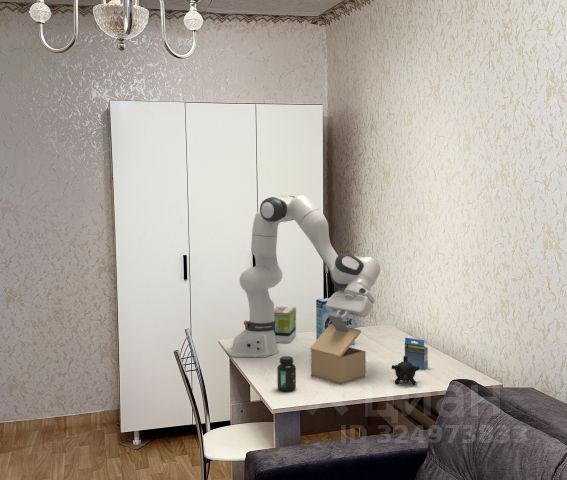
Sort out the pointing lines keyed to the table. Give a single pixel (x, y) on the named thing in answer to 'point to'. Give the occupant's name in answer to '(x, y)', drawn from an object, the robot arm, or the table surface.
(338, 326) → the lid
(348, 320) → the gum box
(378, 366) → the table surface
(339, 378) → the carton
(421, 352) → the label tape box
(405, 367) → the toy ball
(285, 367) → the supplement bottle
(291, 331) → the tea box
